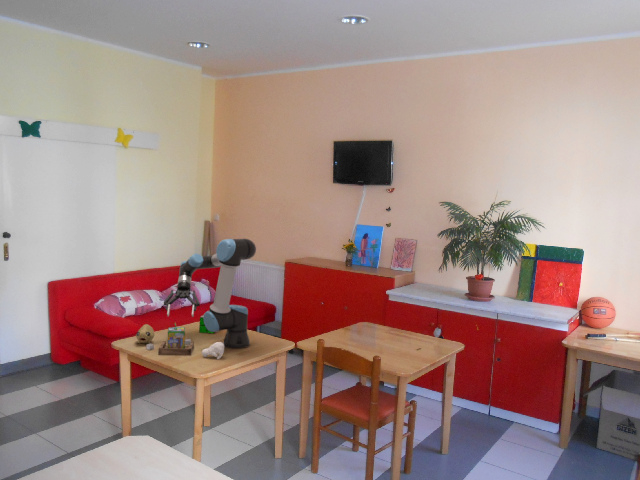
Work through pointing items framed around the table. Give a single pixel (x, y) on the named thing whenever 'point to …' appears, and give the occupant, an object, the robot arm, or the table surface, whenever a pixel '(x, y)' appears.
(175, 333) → the chalk box
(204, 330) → the puzzle cube
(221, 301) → the robot arm
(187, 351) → the brown tray holder
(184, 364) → the table surface
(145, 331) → the tan toy creature
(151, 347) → the grey clip
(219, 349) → the white lumpy piece
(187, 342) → the grey clip
